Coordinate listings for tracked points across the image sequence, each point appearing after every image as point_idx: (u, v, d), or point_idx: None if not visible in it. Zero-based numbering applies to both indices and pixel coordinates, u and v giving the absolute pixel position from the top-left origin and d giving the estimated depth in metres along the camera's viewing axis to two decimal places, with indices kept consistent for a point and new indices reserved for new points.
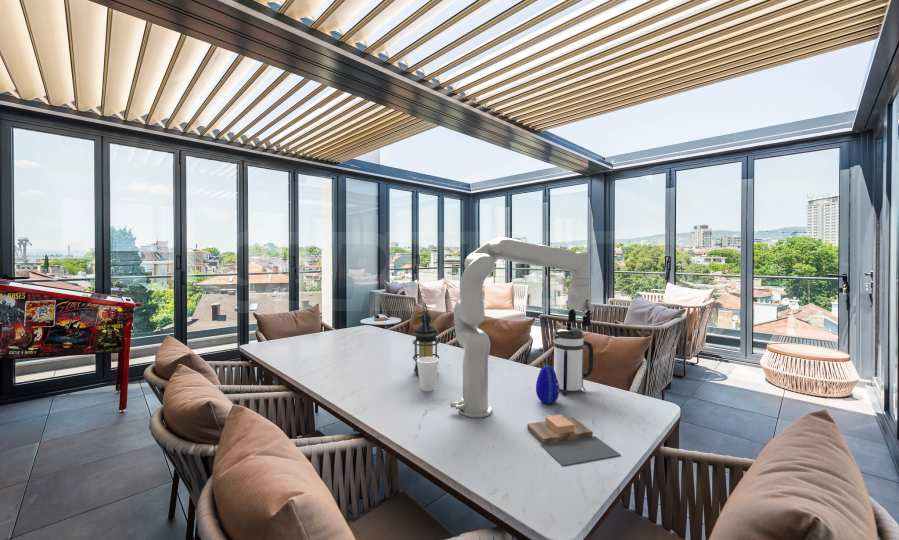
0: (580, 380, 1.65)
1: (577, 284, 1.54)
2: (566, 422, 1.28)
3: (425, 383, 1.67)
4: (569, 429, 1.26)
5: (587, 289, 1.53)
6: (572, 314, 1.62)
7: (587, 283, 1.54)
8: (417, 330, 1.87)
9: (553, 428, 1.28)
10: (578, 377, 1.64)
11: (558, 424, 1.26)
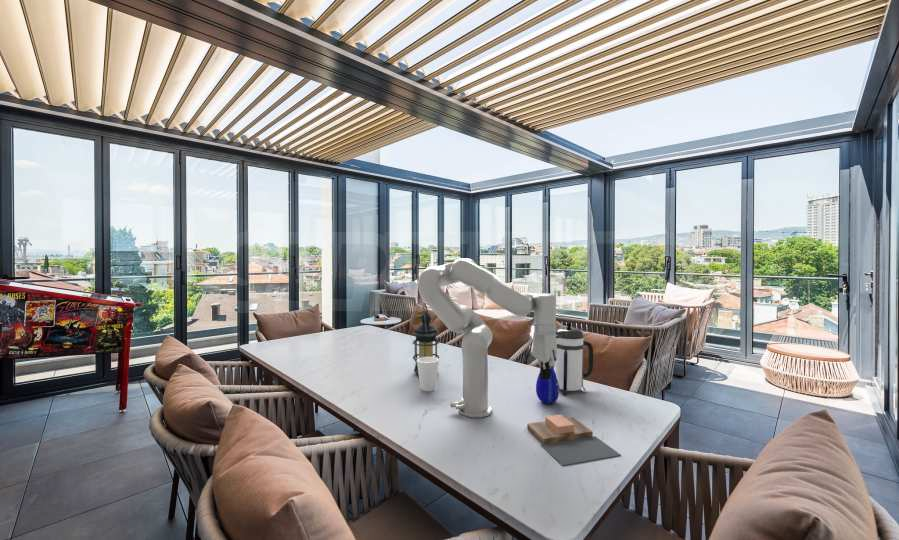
0: (580, 380, 1.65)
1: (541, 332, 1.35)
2: (566, 422, 1.28)
3: (425, 383, 1.67)
4: (569, 429, 1.26)
5: (552, 337, 1.34)
6: None
7: (553, 330, 1.35)
8: (417, 330, 1.87)
9: (553, 428, 1.28)
10: (578, 377, 1.64)
11: (558, 424, 1.26)
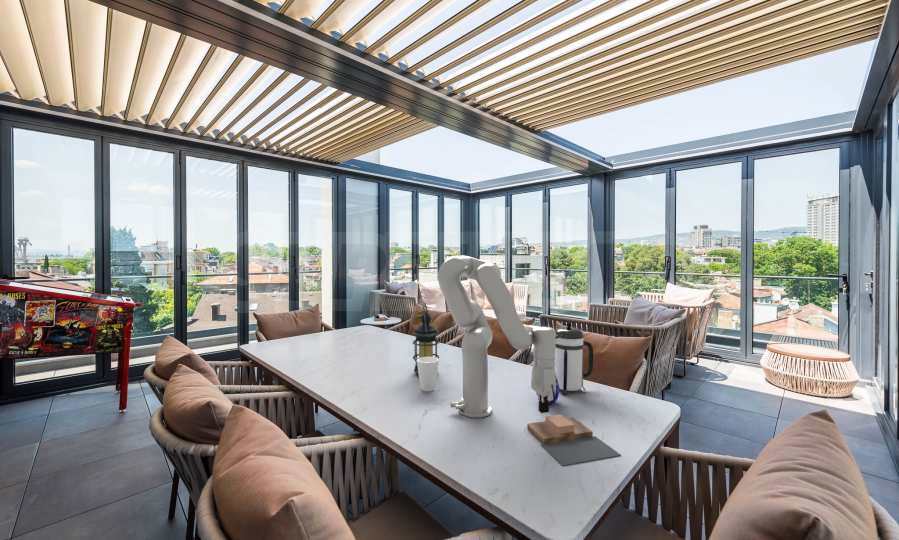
0: (580, 380, 1.65)
1: (540, 366, 1.35)
2: (566, 422, 1.28)
3: (425, 383, 1.67)
4: (569, 429, 1.26)
5: (551, 372, 1.34)
6: None
7: (552, 364, 1.35)
8: (417, 330, 1.87)
9: (553, 428, 1.28)
10: (578, 377, 1.64)
11: (558, 424, 1.26)
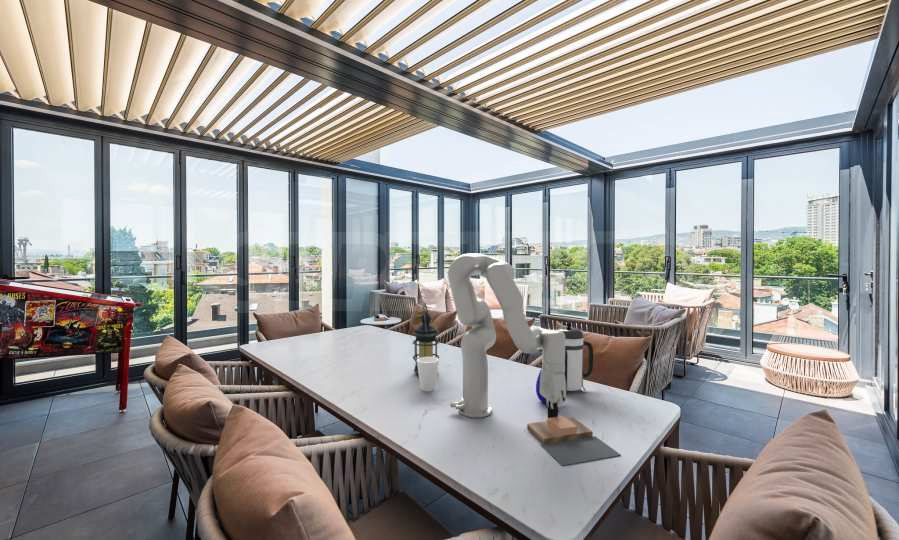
0: (580, 380, 1.65)
1: (550, 371, 1.30)
2: (569, 424, 1.27)
3: (425, 383, 1.67)
4: (571, 431, 1.25)
5: (561, 377, 1.29)
6: None
7: (562, 369, 1.30)
8: (417, 330, 1.87)
9: (555, 430, 1.26)
10: (578, 377, 1.64)
11: (560, 426, 1.25)
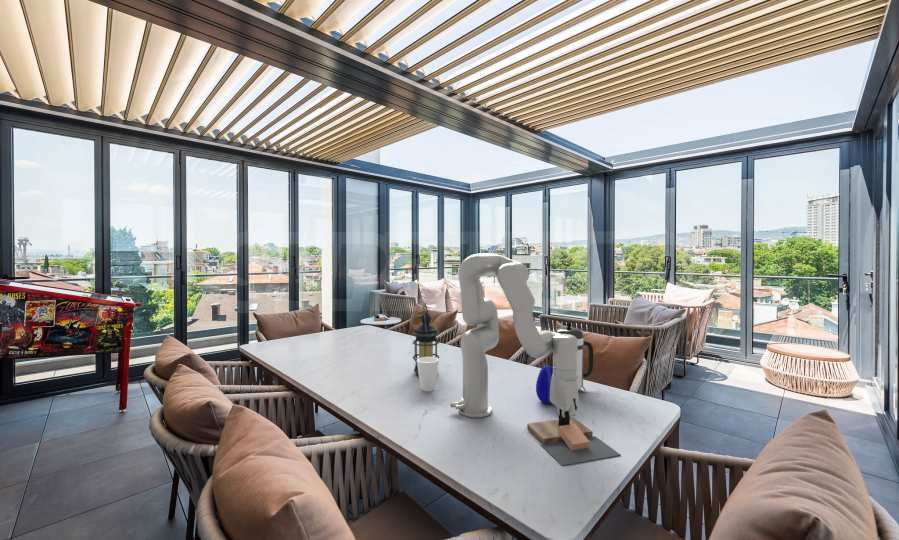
0: (580, 380, 1.65)
1: (561, 377, 1.23)
2: (581, 437, 1.20)
3: (425, 383, 1.67)
4: (583, 446, 1.19)
5: (573, 384, 1.22)
6: None
7: (574, 376, 1.23)
8: (417, 330, 1.87)
9: (566, 442, 1.20)
10: (578, 377, 1.64)
11: (572, 440, 1.19)
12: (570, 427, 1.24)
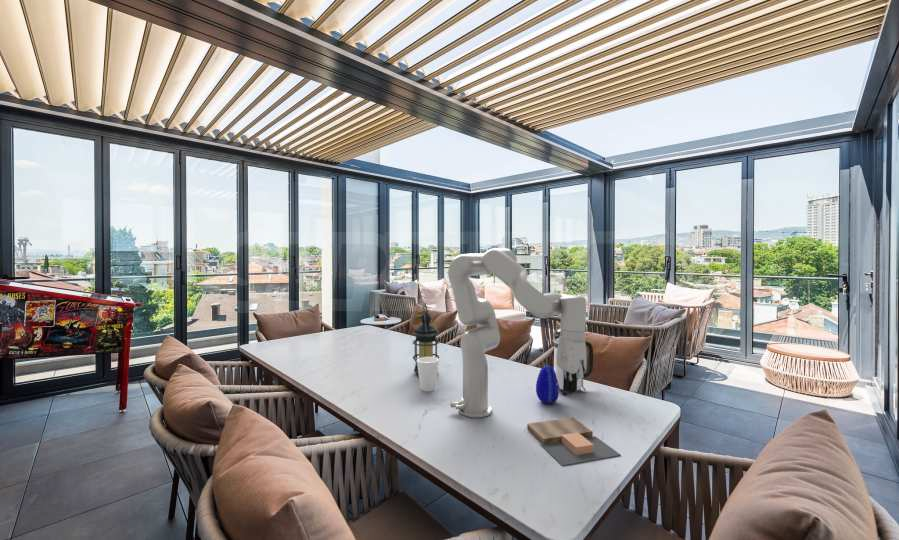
0: (580, 380, 1.65)
1: (569, 339, 1.18)
2: (585, 442, 1.18)
3: (425, 383, 1.67)
4: (588, 449, 1.17)
5: (581, 345, 1.17)
6: None
7: (582, 337, 1.18)
8: (417, 330, 1.87)
9: (570, 448, 1.18)
10: None
11: (576, 444, 1.17)
12: (573, 435, 1.23)
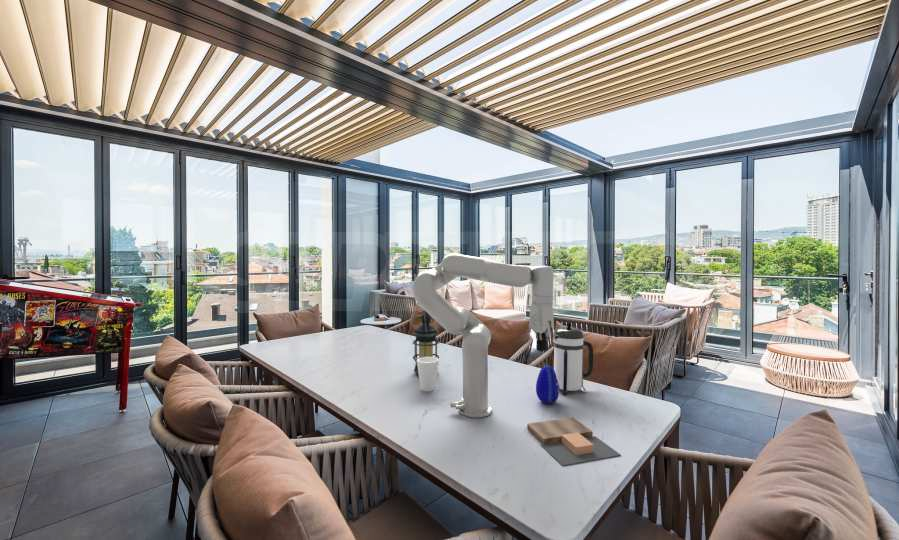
0: (580, 380, 1.65)
1: (538, 303, 1.36)
2: (585, 442, 1.18)
3: (425, 383, 1.67)
4: (588, 449, 1.17)
5: (549, 308, 1.35)
6: None
7: (550, 301, 1.36)
8: (417, 330, 1.87)
9: (570, 448, 1.18)
10: (578, 377, 1.64)
11: (576, 444, 1.17)
12: (573, 435, 1.23)
